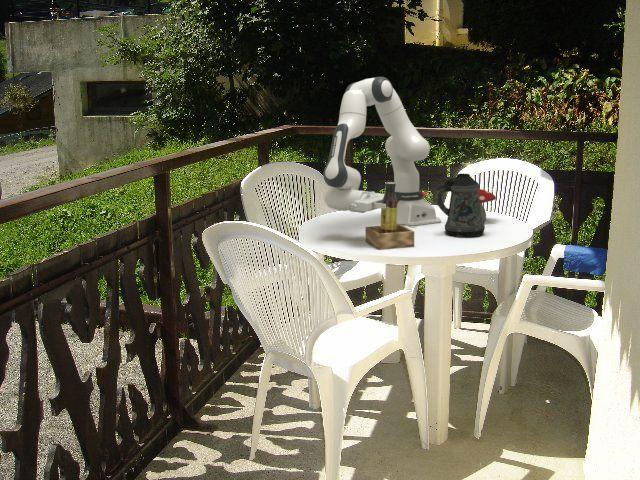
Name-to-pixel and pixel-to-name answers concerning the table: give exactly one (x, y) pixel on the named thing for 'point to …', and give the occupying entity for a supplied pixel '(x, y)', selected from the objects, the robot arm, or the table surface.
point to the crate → (389, 237)
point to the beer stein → (462, 207)
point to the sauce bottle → (389, 209)
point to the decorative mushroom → (484, 197)
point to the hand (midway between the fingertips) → (391, 204)
